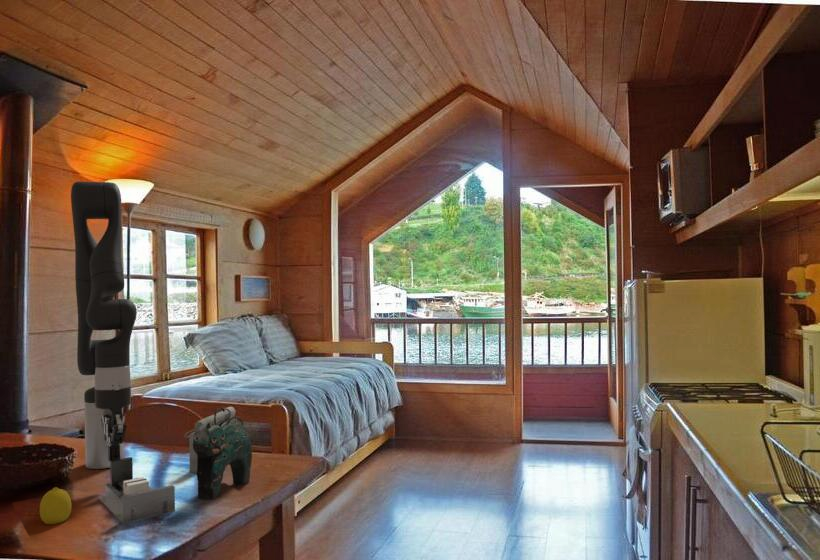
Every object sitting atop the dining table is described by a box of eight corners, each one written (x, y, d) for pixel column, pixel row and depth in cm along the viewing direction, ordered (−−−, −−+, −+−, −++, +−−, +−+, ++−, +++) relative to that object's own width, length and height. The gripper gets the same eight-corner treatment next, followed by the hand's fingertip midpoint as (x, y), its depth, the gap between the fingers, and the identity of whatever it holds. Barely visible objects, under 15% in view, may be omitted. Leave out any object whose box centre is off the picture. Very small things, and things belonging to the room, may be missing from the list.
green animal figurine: (212, 509, 134) (211, 415, 134) (185, 507, 136) (184, 414, 136) (257, 480, 154) (256, 397, 154) (233, 479, 155) (231, 397, 155)
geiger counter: (203, 422, 156) (249, 402, 180) (179, 421, 157) (228, 401, 181) (204, 479, 156) (249, 451, 180) (180, 477, 157) (229, 450, 181)
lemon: (48, 523, 128) (47, 483, 128) (76, 521, 129) (75, 482, 129) (34, 534, 123) (33, 492, 123) (64, 532, 123) (63, 491, 123)
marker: (123, 504, 134) (122, 480, 134) (143, 500, 136) (143, 476, 136) (128, 510, 131) (128, 485, 131) (149, 505, 133) (148, 481, 133)
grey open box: (97, 504, 139) (97, 474, 139) (145, 493, 145) (144, 465, 145) (123, 531, 123) (122, 497, 123) (175, 518, 130) (174, 486, 130)
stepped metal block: (110, 492, 141) (110, 460, 141) (131, 487, 144) (130, 456, 144) (122, 503, 134) (121, 469, 134) (143, 498, 137) (143, 465, 137)
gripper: (88, 384, 149) (89, 459, 149) (102, 390, 139) (103, 470, 139) (122, 381, 154) (123, 453, 154) (138, 387, 143) (139, 464, 143)
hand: (114, 461), depth 146 cm, fingers closed
